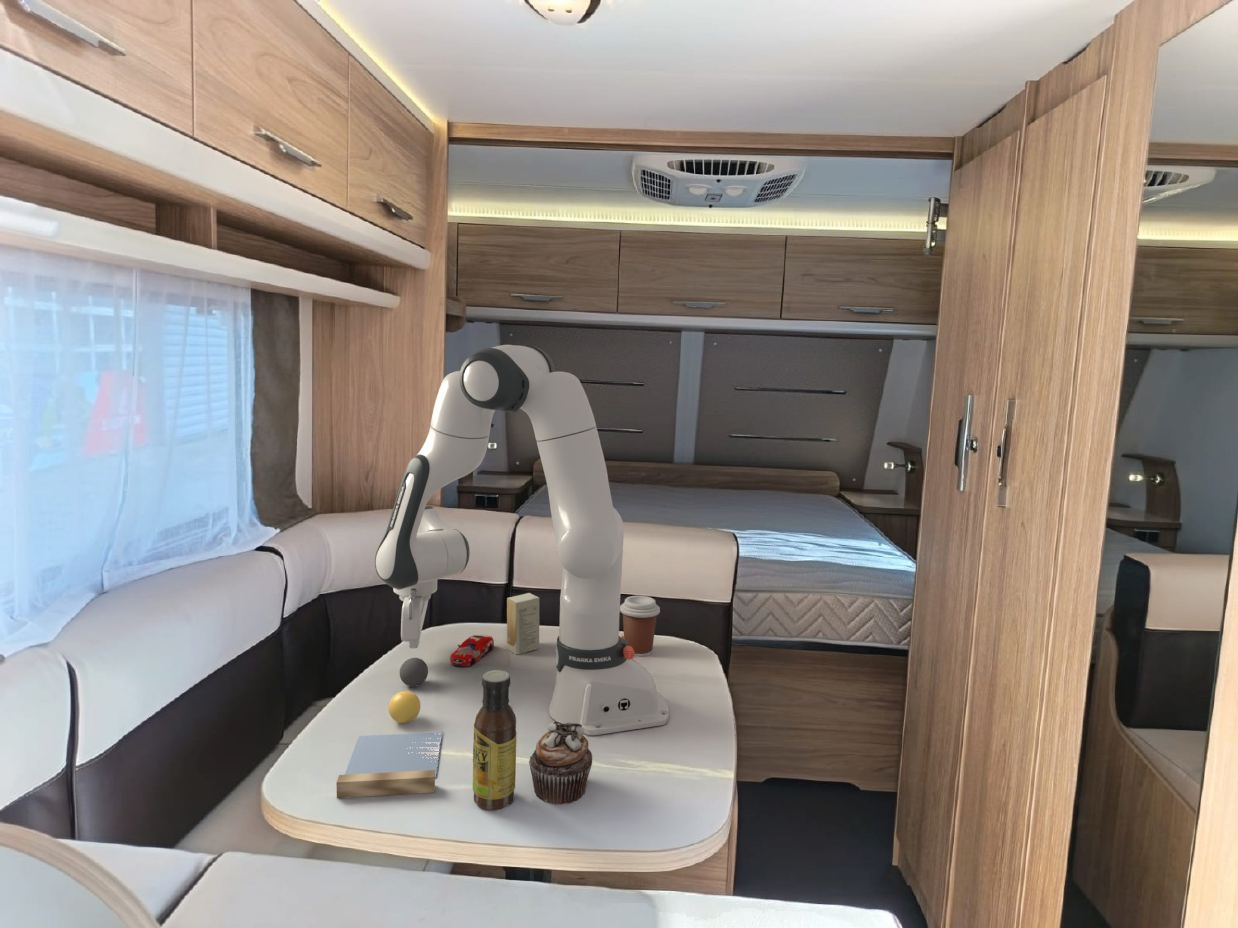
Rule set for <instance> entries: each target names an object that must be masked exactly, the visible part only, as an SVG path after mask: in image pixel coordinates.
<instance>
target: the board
mask: <svg viewBox="0 0 1238 928" xmlns="http://www.w3.org/2000/svg"><path fill="white" fill-rule="evenodd" d="M435 733H436V735H435ZM438 733H441V734H440V735H439V734H438ZM442 733H443V731H442V732H441V731H440V732H419V733H397V734H396V733H395V734H377V735H375V734H374V735H359V736H358V738H357V740H356V744H355V746H354V749H353V752H352V754H351V757H350V760H349V762H348V765H347V767H346V770H345V773H344V775H348V774H367V773H386V772H405V771H425V770H435V779H436V778H437V775H436V774H437V772H438V768H439V761H438V760H439V759H440V754H439V755H437V756H436V755H431V756H430V754H429V756H428V755H427V754H426V753H424V754H421V752H433V751H434V750H433V751H431V750H430V748H429V750H430V751H429V750H428V749H427V748H423V749H422V748H421V749H420V748H419V747H438V745H437V744H436V743H435V744H434V743H431V744H428V743H427V744H426V743H425V742H441V743H442V741H441V740H440V738H442V739H443V734H444V733H443V734H442ZM426 738H427V739H426ZM429 738H431V739H429ZM437 738H439V739H437ZM412 742H413V743H412ZM415 742H416V743H415ZM422 742H423V743H422ZM409 747H411V749H410V748H409ZM412 747H413V748H412ZM416 747H417V748H418V749H417V748H416ZM439 747H442V745H441V746H440V744H439ZM407 748H408V749H407ZM432 749H433V748H432ZM408 752H409V753H410V754H408ZM411 752H413V753H411ZM418 752H420V754H419V753H418ZM434 752H440V753H441V750H440V751H434ZM416 753H417V754H416ZM425 755H426V756H425ZM422 757H424V758H422ZM426 757H428V758H429V759H428V758H426ZM430 757H431V758H432V759H431V758H430ZM433 757H439V758H435V759H434V758H433ZM437 759H438V760H437ZM431 761H432V762H431ZM435 761H436V762H435ZM437 761H438V762H437ZM437 767H438V768H437Z"/></svg>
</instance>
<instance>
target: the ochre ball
mask: <svg viewBox="0 0 1238 928" xmlns="http://www.w3.org/2000/svg"><path fill="white" fill-rule="evenodd" d="M421 707H422V706H421V701H420V698H419V696H417V694H416V693H414V692H413V691H409V690H403V691H399V692H397V693H395V694H394V695H393V696H392V697H391V699H390V700H389V703H388V714H389V715H390V717H391V718H392V720H393V721H395V722H396V723H399V724H407V723H410V722H412V721H414V720H415V719H416V718H417V717H418V715H419V714H420V711H421Z"/></svg>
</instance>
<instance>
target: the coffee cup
mask: <svg viewBox="0 0 1238 928" xmlns="http://www.w3.org/2000/svg"><path fill="white" fill-rule="evenodd" d="M660 611H661V608H660V606H659V605H658V604H656V599H655V598H652V597H650V596H647V595H632V596H627V597H626V598H624V602H623V603H621V604H620V613H622V624H623V626H622V627H623V637H624V638H625V640H626V641H628V643H629V646H631V647H632V648H633V650H634V652H635V655H634V656H635V657H636V658H637V657H638V658H640V657H647V656H650V655H652V654H653V648H654V647H653V646H654V640H655V632H656V625H657V623H656V622H657V618H658V617H657V616H658V615H659V614H660V613H661V612H660Z"/></svg>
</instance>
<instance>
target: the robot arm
mask: <svg viewBox="0 0 1238 928" xmlns="http://www.w3.org/2000/svg"><path fill="white" fill-rule="evenodd" d="M434 401H435V402H434V405H433V411H432V414H431V420H430V424H429V425H430V426H429V431H428V434H427V436H426V439H425V441H424V444H423V445H422V447H421V449H420V451H419V452H418V453H417V454H416V455H415V456H414V457H413V458H411V459H410V460H409V462H408V463H407V466H406V468H405V470H404V472H403V476H402V479H401V482H400V486H399V488H398V491H397V496H396V499H395V501H394V505H393V508H392V512H391V514H390V518H389V521H388V524H387V527H386V530H385V533H384V535H383V538H382V539H381V540H380V541H381V542H379V545H378V547H377V551H376V552H375V557H374V569H375V571H376V574H377V577H379V578H380V579H381V581H382V582H384V583H385V584H386V585H388V586H389V587H391V588H392V589H393V590H392V591H393V593H395V594H396V595H398V597H399V600H400V601H401V602H403V603H402V607H401V617H400V618H401V619H400V622H401V623H400V638H401V639H400V640H401V642H405V643H406V642H409V645H408V646H409V649H418V647H419V644H420V639H421V635H422V630H423V626H424V622H425V617H426V614H427V613H426V612H427V609H428V603H429V600H430V599H431V597H432V594H434V593H436V592H437V590H438V580H440V579H443V578H448V577H453V576H456V575H458V574H462V573H463V572H464V571H465V569H466V568H467V565H468V563H469V560H470V553H471V552H470V545H469V541H468V540H467V539H468V538H467V537H465V535H464V534H463V533H462V532H461V531H459V530H458V529H455V528H452V527H451V526H449V525H448V524H447V523H445V522H444V521H443V520H442V519H441V518H440V516H439V513H438V510H437V509H436V508H435V507H433V506H430V505H427V504H428V502H429V500H430V499H431V498H432V496H433V495H435V494H436V493H437V492H438V491H439V490H440V489H442V488H444V487H446V486H447V485H449V484H451V483H454V482H455V481H457V480H458V479H461V478H464V477H466V476H468V475H469V474H471V473H473V471H475V470H476V469H477V468H479V467H480V466H481V464H482V463H483V460H484V458H485V456H486V453H487V450H488V446H489V439H490V434H491V427H492V421H493V417H494V414H495V411H501V412H510V413H511V412H512V413H515V412H518V411H519V410H522V411H523V412H524V413H526V415H527V416H528V418H529V419H530V422H531V425H532V429H533V432H534V437H535V440H536V444H537V449H538V454H539V457H540V460H541V465H542V469H543V473H544V477H545V482H546V486H547V492H548V500H549V507H550V514H551V521H552V526H553V532H554V537H555V541H556V549H557V555H558V558H559V561H560V563H561V565H562V567H563V568H562V577H561V578H562V581H561V589H560V594H559V596H560V597H559V603H560V604H559V627H558V628H559V629H558V631H559V633H558V634H559V635H558V636H557V638H556V645H555V666H556V677H555V682H554V683H555V684H554V687H553V688H554V689H553V693H552V696H551V700H550V702H549V703H550V704H549V706H548V714H549V715H550V717H551V718H552V719H553V720H554V721H557V722H560V723H561V724H566V723H576V724H580V725H582V728H583V729H584V733H583V734H586V735H588V736H598V735H605V734H611V733H612V734H613V733H619V732H625V731H631V730H637V729H644V728H652V727H660V726H663V725H666V724H667V723H668V721H669V719H670V709H669V708H670V707H669V706H668V702H667V701H666V699H665V698H664V697H663V695H662V694H661V693H660V692H659V691H658V690H657V686H656V683H655V679H654V677H653V676H652V675H651V673H650V672H649V670H647V669H646V668H645V667H644V666H643V665H641V664H640V663H638V662H637V661H636V660H634V658H635V657H636V656H634V655H635V652H634V650H633V648H632V647H631V646H629V643H628V641H626V640H625V638H624V635H621V636H620V613H621V612H620V605H621V591H622V590H621V589H622V572H623V558H624V557H623V555H624V554H623V553H624V538H625V537H624V536H625V535H624V533H625V529H624V528H625V526H624V521H623V519H622V516H621V515H620V513H619V512H618V510H617V509H616V508H615V507H614V505H613V499H612V494H611V488H610V483H609V476H608V470H607V465H606V461H605V456H604V452H603V449H602V444H601V440H600V436H599V432H598V427H597V424H596V420H595V415H594V413H593V410H592V407H591V405H590V402H589V398H588V396H587V394H586V391H585V389H584V387H583V385H582V383H581V381H580V379H579V378H578V377H577V376H576V375H574V374H572V373H571V372H567V371H566V372H565V371H555V365H554V363H553V360H552V359H551V356H549V355H548V353H547V352H546V351H544V350H543V349H541V348H539V347H536V346H535V345H534V346H533V345H529V344H520V345H513V344H502V345H497V346H493V347H484V348H482V349H479V350H477V351H476V352H474V353H472V354H471V355H470V356H468V357H467V358H466V359H465V360H464V362H463V363H462V365H461V367H460V370H457V371H453V372H451V373H448V374H447V375H445V377H444V378H443V379H442V382H441V384H440V387H439V389H438V392H437V395H436V398H435V400H434Z"/></svg>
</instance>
